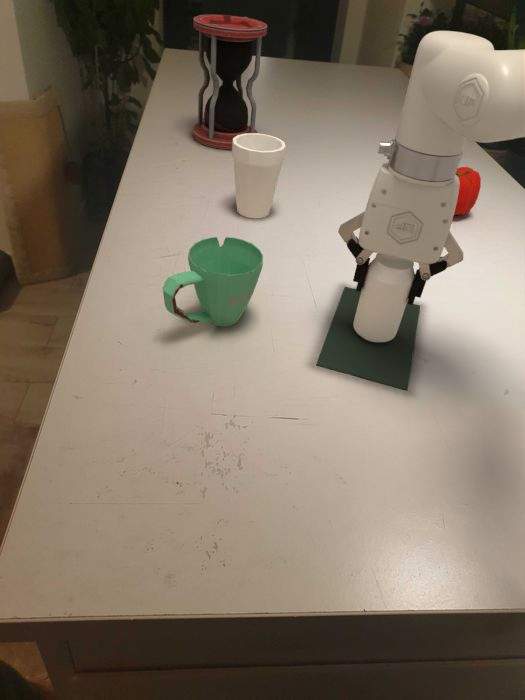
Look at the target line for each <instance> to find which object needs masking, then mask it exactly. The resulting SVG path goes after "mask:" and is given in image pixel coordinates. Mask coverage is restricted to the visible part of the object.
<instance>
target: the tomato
mask: <svg viewBox="0 0 525 700" xmlns="http://www.w3.org/2000/svg"><path fill="white" fill-rule="evenodd" d="M455 175H456V176H457V177H458V178H459V182H460V186H459V194H458V199H457V204H456V208H455V212H454V216H461V215H466V214H468V213H469V212H471V210H472V209H473V208H474V207H475V205H476V202H477V200H478V198H479V195H480V191H481V187H482V186H481V183H482V182H481V180H482V178H481V175H480V172H479V171H477V170H474V169H473V168H471V167H469V166H460V167H458V169H457V171H456V174H455Z"/></svg>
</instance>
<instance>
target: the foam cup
mask: <svg viewBox="0 0 525 700" xmlns="http://www.w3.org/2000/svg"><path fill="white" fill-rule="evenodd" d="M286 148H287V146H286V143H285V141H283V140H282V139H280V138H279V137H276V136H273V135H270V134H264V133H259V132H258V133H246V134H241V135H237V136H236V137H234V138H233V143H232V149H231V154H232V157H233V173H234V174H233V175H234V187H235V201H236V202H235V203H236V212H237V213H238V214H239V215H240V216H242V217H246V218H250V219H262V218H265V217H267V216H269V215H270V211H271V209H272V205H273V200H274V196H275V193H276V189H277V185H278V181H279V177H280V173H281V170H282V166H283V161H284V160H285V156H286Z"/></svg>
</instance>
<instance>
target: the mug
mask: <svg viewBox="0 0 525 700" xmlns="http://www.w3.org/2000/svg"><path fill="white" fill-rule="evenodd" d="M187 263H188V266H189V270H188V271H182V272H178V273H175V274H173V275H170V276H169V277H167V279H166V280H165V283H164V284H163V286H162V294H163V301H164V307H165V309H166V311H167V312H169V313H170V314H172V315H173V316H175V317H178V318H179V319H181V320H182V321H185V322H187V323H189V324H204V323H205V324H206V323H208V324H209V323H210V324H211V325H214V326H216V327H230V326H234V325H236V324H237V323H238V322H239V321H240V318H241V317H242V315H243V313H244V312H245V311H246V309H247V307H248V305H249V303H250V301H251V298H252V296H253V295H254V292H255V289H256V287H257V284H258V281H259V278H260V275H261V272H262V269H263V265H264V254H263V253H262V250H261V249H260V248H259V247H257V246H256V245H254V244H253V243H251V242H249V241H247V240H245V239H242V238H237V237H232V236H231V237H230V236H225V237H224V240H223V244H222V245H220V242H219V238H218V237H217V236H211V237H208V238H203V239H200V240H199V241H197V242H194V244H193V245H191V246H190V248H189V249H188V254H187ZM191 285H193V287H194V290H195V294H196V296H197V299H198V303H199V305H200V308H201V310H202V311H189V312H186V311H185V310H183V309H181V308H180V307H179V306H177V300H176V296H177V294H178V292H180V289H183V288H185V287H187V286H191Z"/></svg>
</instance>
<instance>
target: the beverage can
mask: <svg viewBox="0 0 525 700" xmlns="http://www.w3.org/2000/svg"><path fill="white" fill-rule="evenodd" d="M414 265H415V262H412V261H408V260H404V259H399V258H395V257H391V256H387V255H383V254H378V253H376V255H375V257H374V258H373V259H372V260H371V261H370V262H369V265H368V268H367V272H366V275H365V279H364V283H363V287H362V290H361V295H360V299H359V303H358V307H357V311H356V315H355V319H354V324H353V326H354V329H355V331H356V332H357V333H358V334H359V335H360V336H361V337H363V338H364V339H366V340H368V341H371V342H387V341H390V340H392V339H393V338H394V337H395V336H396V333H397V331H398V328H399V325H400V322H401V319H402V316H403V313H404V310H405V307H406V304H407V302H408V298H409V295H410V292H411V289H412V286H413V283H414V280H415V274H416V272H415V269H414V267H415V266H414Z"/></svg>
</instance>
